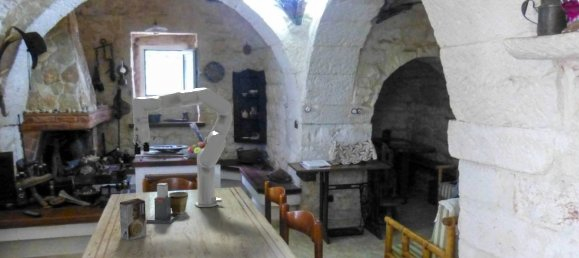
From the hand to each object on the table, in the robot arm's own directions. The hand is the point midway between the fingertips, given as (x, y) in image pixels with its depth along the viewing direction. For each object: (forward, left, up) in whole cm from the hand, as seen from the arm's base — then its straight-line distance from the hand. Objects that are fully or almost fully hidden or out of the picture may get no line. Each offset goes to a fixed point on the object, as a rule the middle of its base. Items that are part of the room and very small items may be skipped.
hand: (142, 153), depth 242 cm
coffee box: (-15, +43, -31) cm, 55 cm away
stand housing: (-18, +17, -30) cm, 39 cm away
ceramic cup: (-20, +3, -31) cm, 37 cm away
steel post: (-18, +17, -28) cm, 37 cm away
